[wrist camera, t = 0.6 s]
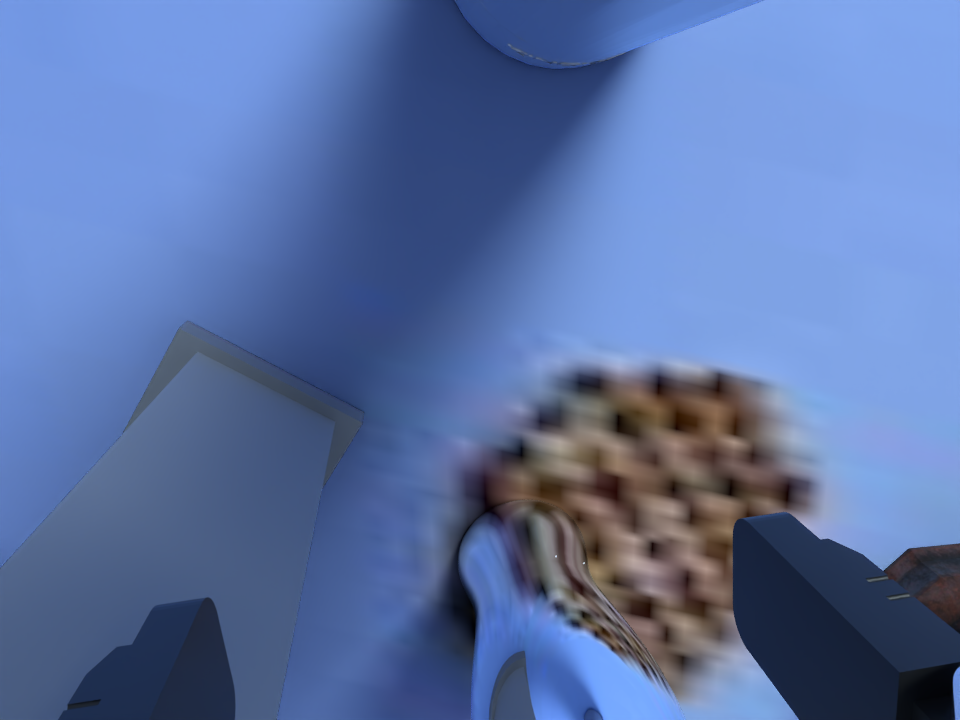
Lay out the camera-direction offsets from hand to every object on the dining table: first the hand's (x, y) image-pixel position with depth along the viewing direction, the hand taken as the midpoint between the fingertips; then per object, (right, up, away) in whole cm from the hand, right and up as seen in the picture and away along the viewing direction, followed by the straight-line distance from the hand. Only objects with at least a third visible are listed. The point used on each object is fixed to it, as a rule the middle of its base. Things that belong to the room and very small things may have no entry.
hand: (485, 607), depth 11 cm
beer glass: (+2, -5, +23) cm, 23 cm away
